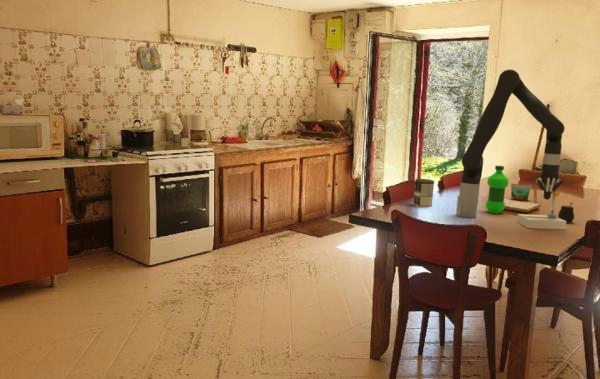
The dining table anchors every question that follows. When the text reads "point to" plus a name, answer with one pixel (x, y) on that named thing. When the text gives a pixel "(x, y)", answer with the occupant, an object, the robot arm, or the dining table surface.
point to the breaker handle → (553, 204)
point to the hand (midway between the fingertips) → (546, 199)
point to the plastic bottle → (496, 191)
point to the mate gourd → (566, 213)
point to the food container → (520, 192)
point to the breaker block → (541, 221)
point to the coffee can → (423, 192)
